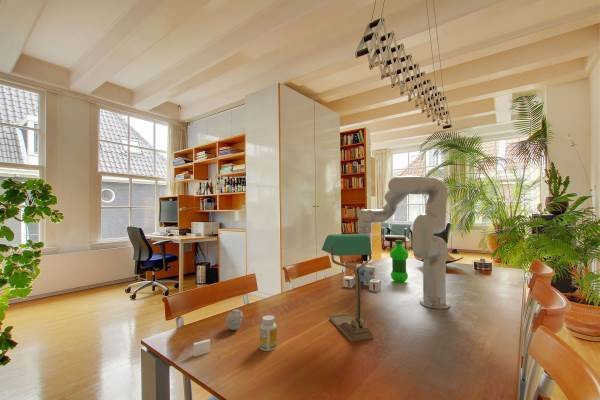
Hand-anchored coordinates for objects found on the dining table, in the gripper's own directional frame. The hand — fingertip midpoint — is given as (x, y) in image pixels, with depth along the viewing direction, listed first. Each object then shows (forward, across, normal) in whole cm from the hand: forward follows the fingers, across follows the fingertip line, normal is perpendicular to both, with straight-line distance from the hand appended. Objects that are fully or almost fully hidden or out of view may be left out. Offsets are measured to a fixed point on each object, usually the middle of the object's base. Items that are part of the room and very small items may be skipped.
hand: (364, 260), depth 166 cm
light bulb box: (+14, 0, -1) cm, 14 cm away
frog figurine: (+13, -84, +25) cm, 89 cm away
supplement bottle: (+13, -89, +6) cm, 90 cm away
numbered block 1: (+13, -9, -9) cm, 18 cm away
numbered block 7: (+14, -9, +6) cm, 18 cm away
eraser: (+13, -102, +22) cm, 105 cm away
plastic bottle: (+13, +14, -18) cm, 26 cm away
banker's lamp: (+13, -62, -12) cm, 65 cm away
